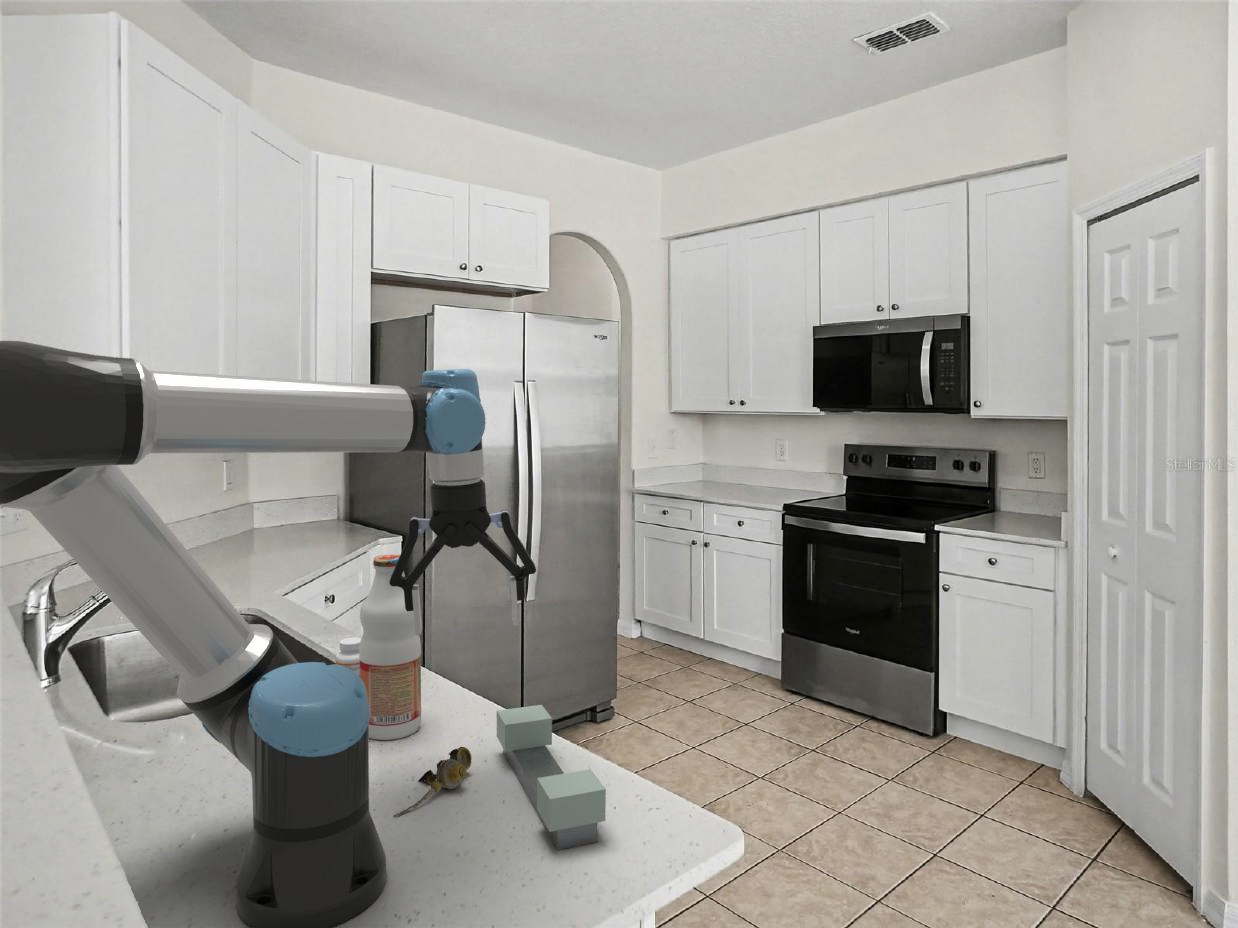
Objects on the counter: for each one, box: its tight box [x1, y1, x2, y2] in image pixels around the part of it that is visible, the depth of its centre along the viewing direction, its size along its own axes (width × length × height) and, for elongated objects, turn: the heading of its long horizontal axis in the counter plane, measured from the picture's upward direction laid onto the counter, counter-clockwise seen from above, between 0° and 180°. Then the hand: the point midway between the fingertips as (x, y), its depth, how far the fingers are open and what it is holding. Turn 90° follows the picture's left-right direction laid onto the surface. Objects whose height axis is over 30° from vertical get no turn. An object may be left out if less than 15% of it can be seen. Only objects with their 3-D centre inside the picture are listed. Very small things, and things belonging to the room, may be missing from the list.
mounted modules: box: [496, 704, 607, 832], centre depth 108 cm, size 7×28×4 cm, turn 21°
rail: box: [502, 745, 599, 851], centre depth 108 cm, size 5×28×2 cm, turn 21°
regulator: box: [392, 746, 472, 818], centre depth 108 cm, size 8×4×15 cm
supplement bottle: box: [335, 636, 362, 677], centre depth 142 cm, size 5×5×10 cm
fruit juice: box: [359, 554, 422, 741], centre depth 127 cm, size 9×9×28 cm
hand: (467, 627), depth 114 cm, fingers open, 13 cm apart
